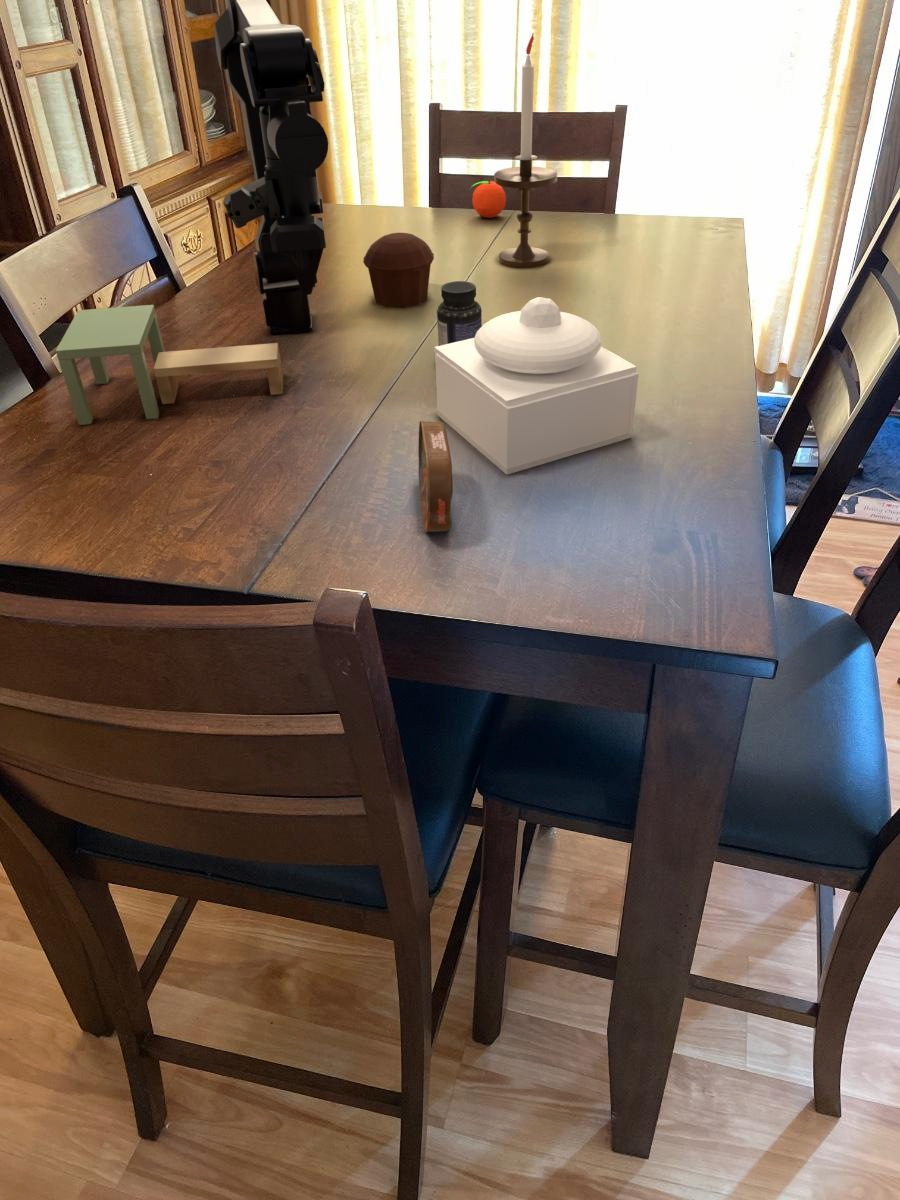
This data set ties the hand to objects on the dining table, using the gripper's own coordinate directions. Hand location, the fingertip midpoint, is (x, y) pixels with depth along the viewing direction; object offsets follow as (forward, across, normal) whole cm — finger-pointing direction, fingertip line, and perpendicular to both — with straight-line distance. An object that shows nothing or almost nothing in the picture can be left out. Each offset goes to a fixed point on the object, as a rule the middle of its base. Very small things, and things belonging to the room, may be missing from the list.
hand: (307, 287), depth 113 cm
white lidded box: (+13, +18, +26) cm, 34 cm away
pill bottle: (+13, -2, +20) cm, 24 cm away
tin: (+13, +35, +12) cm, 39 cm away
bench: (+13, 0, -13) cm, 18 cm away
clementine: (+13, -75, +36) cm, 84 cm away
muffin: (+13, -31, +14) cm, 36 cm away
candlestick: (+13, -46, +38) cm, 61 cm away
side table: (+13, 0, -26) cm, 29 cm away
